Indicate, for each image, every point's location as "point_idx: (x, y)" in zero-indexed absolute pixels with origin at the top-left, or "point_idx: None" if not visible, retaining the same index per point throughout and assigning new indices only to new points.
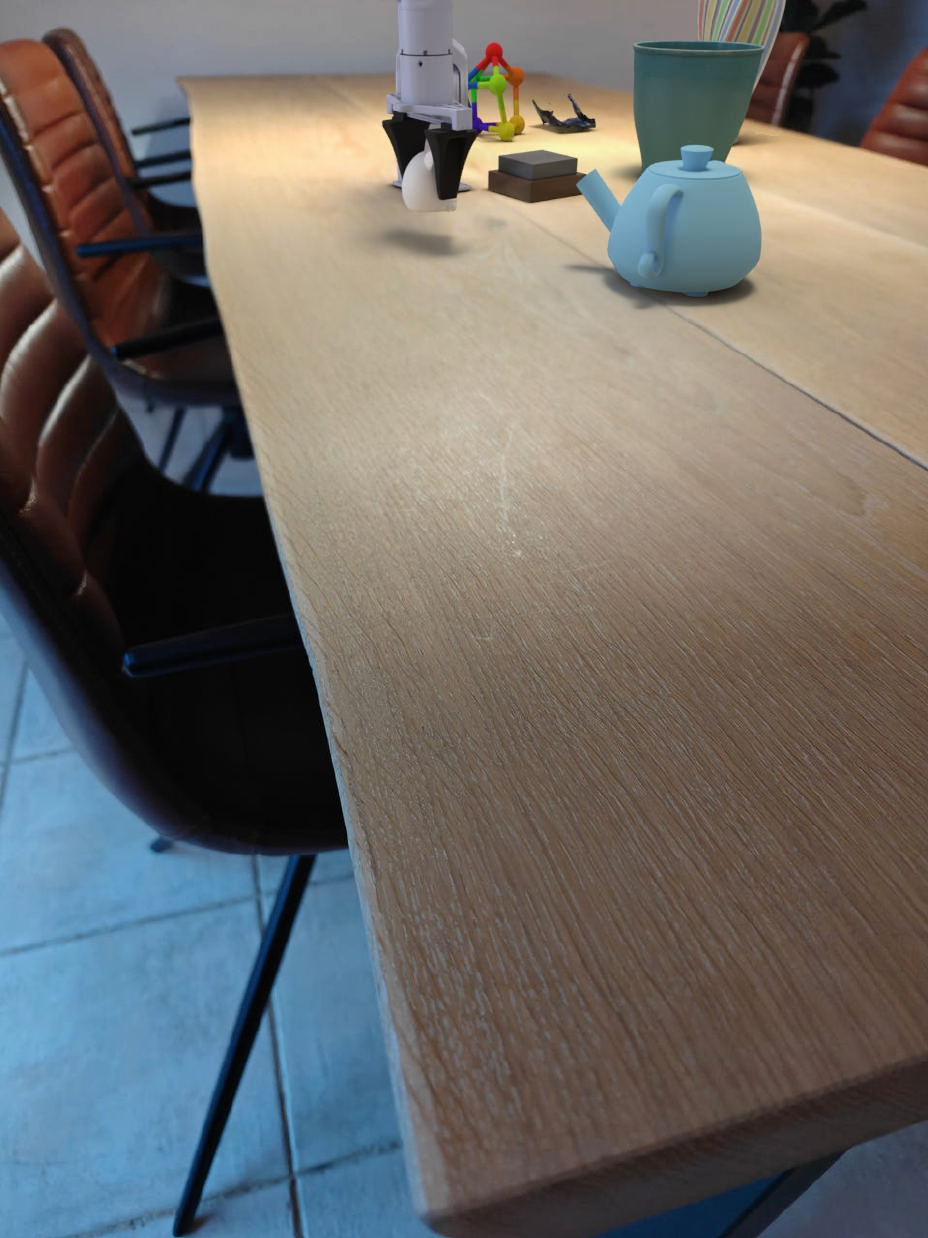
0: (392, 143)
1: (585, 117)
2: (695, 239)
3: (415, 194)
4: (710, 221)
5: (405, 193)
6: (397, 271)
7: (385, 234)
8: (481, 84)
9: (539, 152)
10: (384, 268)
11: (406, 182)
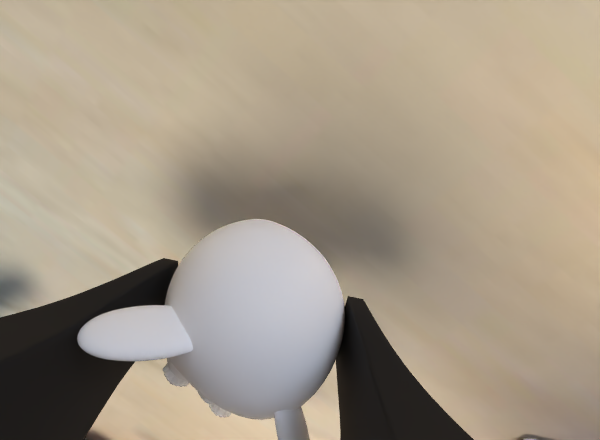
0: (425, 402)
1: None
2: None
3: (221, 230)
4: None
5: (265, 228)
6: (140, 27)
7: (396, 216)
8: None
9: None
10: (177, 18)
11: (257, 247)
